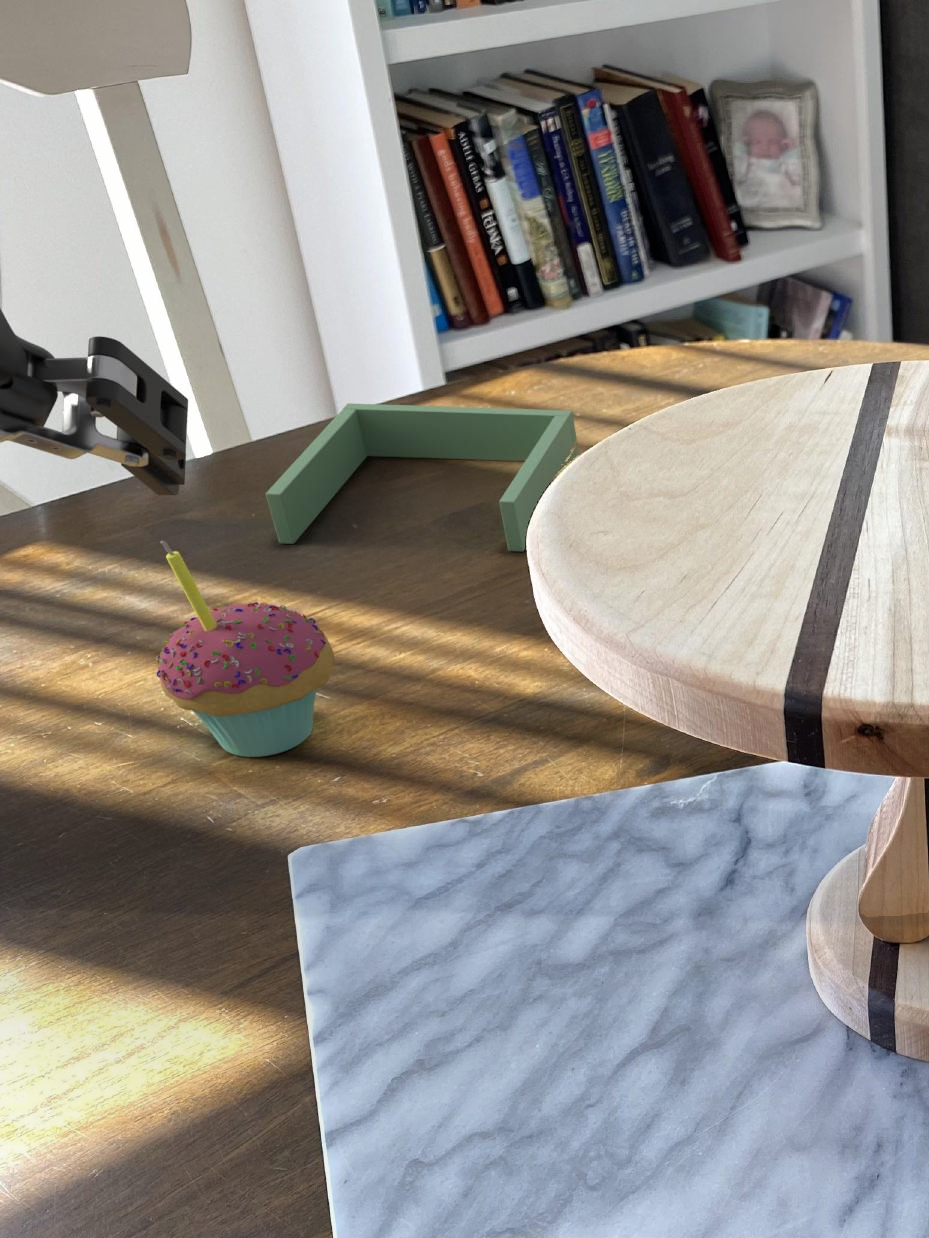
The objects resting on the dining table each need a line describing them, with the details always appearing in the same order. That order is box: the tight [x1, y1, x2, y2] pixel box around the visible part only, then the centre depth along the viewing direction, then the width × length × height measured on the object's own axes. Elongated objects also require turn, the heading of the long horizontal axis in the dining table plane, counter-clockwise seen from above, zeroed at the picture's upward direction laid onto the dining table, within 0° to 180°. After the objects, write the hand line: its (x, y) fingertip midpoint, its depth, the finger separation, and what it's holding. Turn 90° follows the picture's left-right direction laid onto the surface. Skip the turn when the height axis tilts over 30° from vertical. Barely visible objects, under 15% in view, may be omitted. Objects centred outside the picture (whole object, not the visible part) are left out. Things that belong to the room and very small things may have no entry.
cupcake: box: [155, 540, 335, 758], centre depth 88 cm, size 9×8×12 cm
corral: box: [265, 402, 580, 553], centre depth 114 cm, size 15×16×4 cm
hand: (71, 475), depth 73 cm, fingers open, 8 cm apart
